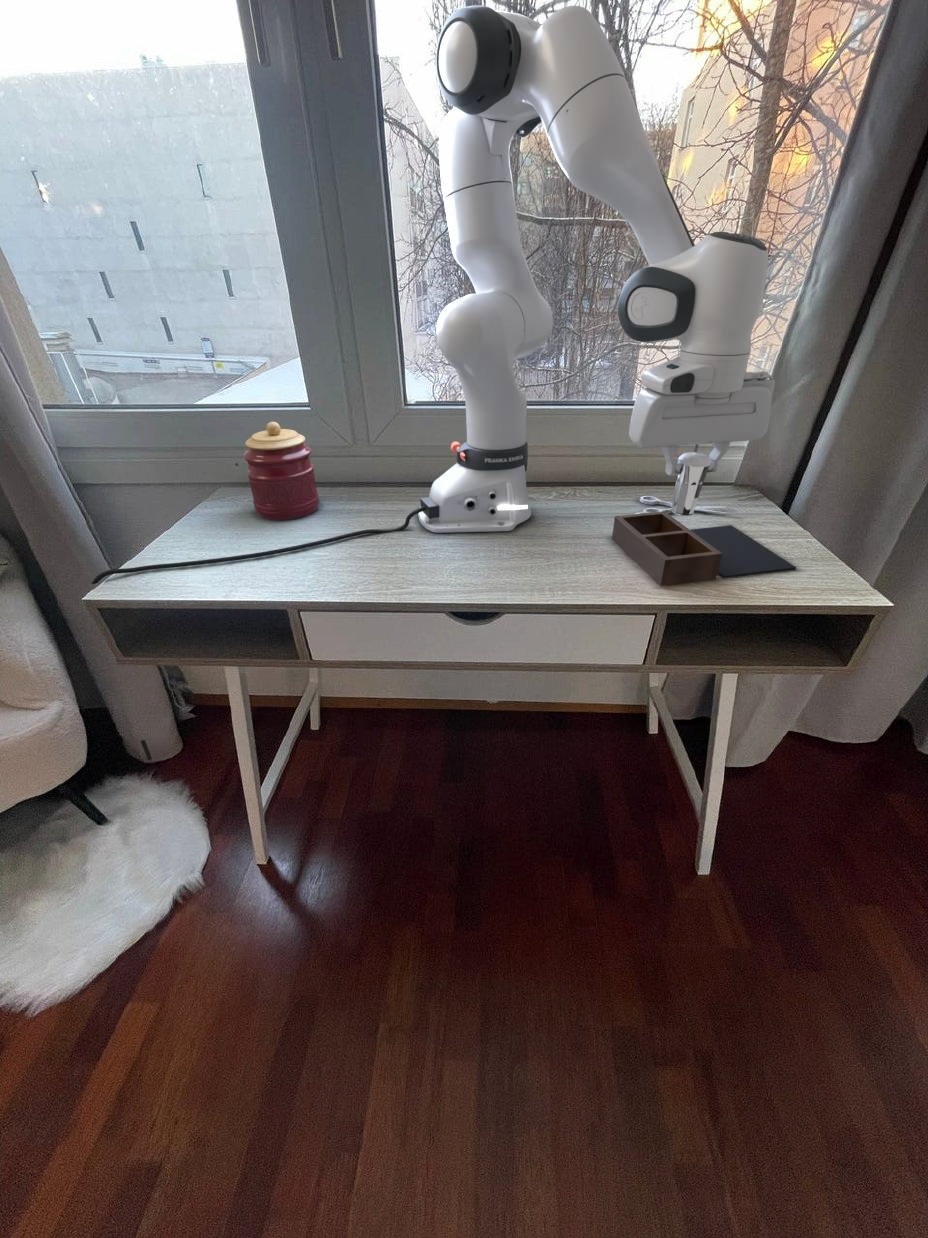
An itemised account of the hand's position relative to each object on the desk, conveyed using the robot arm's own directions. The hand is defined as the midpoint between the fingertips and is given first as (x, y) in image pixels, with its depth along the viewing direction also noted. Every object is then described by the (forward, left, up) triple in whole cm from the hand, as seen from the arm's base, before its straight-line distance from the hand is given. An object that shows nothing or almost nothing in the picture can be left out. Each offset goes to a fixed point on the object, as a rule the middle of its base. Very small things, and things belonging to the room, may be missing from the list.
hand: (690, 472), depth 88 cm
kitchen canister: (-63, +43, -16) cm, 78 cm away
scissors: (+15, +22, -16) cm, 31 cm away
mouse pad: (+13, +4, -16) cm, 21 cm away
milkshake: (0, 0, -6) cm, 6 cm away
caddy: (0, +4, -16) cm, 16 cm away
